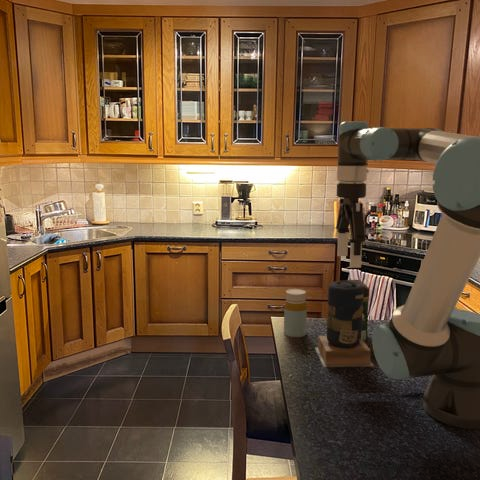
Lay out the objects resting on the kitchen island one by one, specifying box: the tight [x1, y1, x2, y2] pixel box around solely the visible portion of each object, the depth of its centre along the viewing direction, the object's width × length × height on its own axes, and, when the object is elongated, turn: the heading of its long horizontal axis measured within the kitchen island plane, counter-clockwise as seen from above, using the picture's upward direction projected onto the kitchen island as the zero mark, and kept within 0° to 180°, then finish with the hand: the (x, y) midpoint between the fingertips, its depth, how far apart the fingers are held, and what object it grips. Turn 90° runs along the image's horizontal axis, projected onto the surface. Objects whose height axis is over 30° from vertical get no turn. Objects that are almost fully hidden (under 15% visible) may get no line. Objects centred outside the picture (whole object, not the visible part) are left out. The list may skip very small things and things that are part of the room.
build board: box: [314, 346, 375, 368], centre depth 135 cm, size 18×15×1 cm
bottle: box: [283, 288, 308, 338], centre depth 152 cm, size 7×7×15 cm
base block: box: [317, 335, 372, 365], centre depth 135 cm, size 11×12×4 cm
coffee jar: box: [345, 279, 370, 341], centre depth 150 cm, size 10×8×19 cm
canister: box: [326, 280, 364, 347], centre depth 133 cm, size 10×10×18 cm
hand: (348, 261), depth 130 cm, fingers open, 13 cm apart
